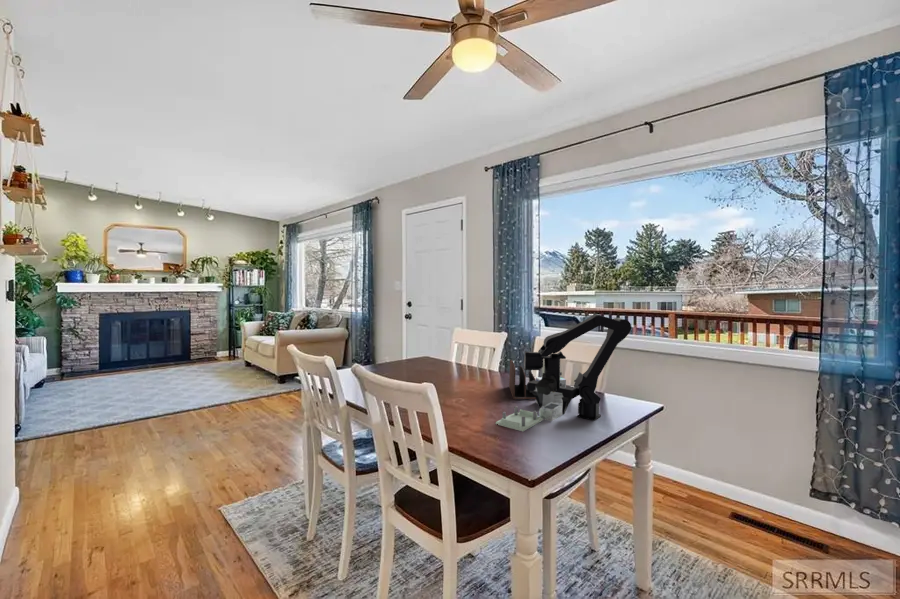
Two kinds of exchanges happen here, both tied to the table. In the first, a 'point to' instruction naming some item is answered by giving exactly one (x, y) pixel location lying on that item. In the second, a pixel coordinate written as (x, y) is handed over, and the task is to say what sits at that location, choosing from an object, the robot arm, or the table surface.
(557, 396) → the light bulb box
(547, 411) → the block
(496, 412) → the table surface
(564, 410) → the robot arm
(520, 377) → the letter holder
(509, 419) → the tray
